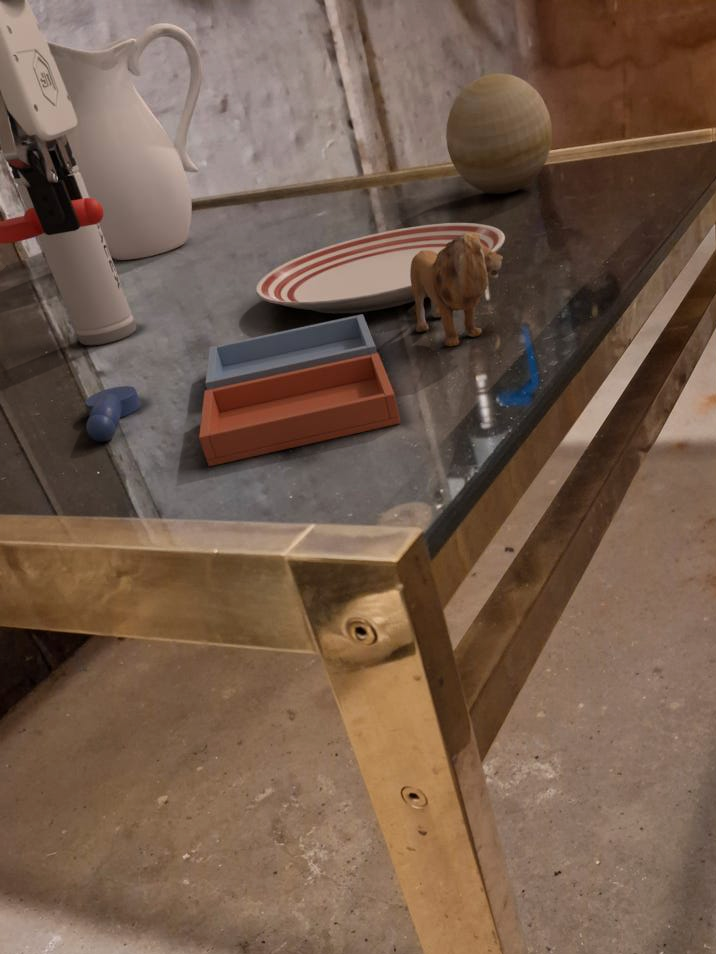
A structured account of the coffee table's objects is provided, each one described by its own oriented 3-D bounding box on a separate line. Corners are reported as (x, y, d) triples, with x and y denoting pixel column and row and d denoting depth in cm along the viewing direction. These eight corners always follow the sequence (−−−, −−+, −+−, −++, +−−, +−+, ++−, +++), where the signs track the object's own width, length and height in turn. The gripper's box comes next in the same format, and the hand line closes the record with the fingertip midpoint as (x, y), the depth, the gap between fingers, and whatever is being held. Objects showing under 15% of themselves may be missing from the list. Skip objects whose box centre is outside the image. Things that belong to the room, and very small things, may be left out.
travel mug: (66, 345, 101) (-17, 143, 90) (115, 325, 106) (40, 129, 94) (100, 349, 98) (17, 140, 87) (148, 328, 102) (76, 125, 91)
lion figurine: (520, 336, 80) (506, 227, 75) (470, 355, 78) (453, 244, 73) (431, 311, 91) (413, 214, 86) (385, 327, 89) (364, 228, 84)
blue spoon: (131, 439, 74) (121, 413, 73) (77, 451, 74) (66, 425, 73) (143, 397, 83) (134, 373, 81) (94, 407, 82) (84, 384, 81)
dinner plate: (257, 349, 89) (247, 314, 87) (266, 281, 112) (258, 253, 110) (531, 294, 91) (527, 258, 89) (486, 238, 113) (482, 209, 111)
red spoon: (113, 217, 86) (104, 191, 84) (99, 227, 82) (89, 201, 81) (7, 235, 86) (-4, 210, 85) (-12, 246, 83) (-23, 220, 81)
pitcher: (99, 273, 132) (13, 44, 116) (90, 254, 145) (12, 47, 129) (259, 234, 138) (199, 11, 122) (236, 219, 151) (180, 17, 135)
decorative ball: (564, 176, 139) (554, 60, 130) (547, 198, 127) (535, 72, 118) (468, 187, 143) (452, 75, 134) (444, 210, 131) (425, 89, 122)
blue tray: (213, 409, 77) (205, 382, 76) (217, 371, 86) (209, 346, 84) (381, 372, 78) (375, 345, 77) (368, 338, 87) (362, 313, 85)
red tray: (208, 466, 67) (198, 437, 66) (213, 417, 76) (204, 390, 74) (400, 423, 68) (394, 393, 67) (383, 379, 77) (378, 352, 75)
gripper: (-20, -26, 67) (81, 241, 77) (53, -24, 80) (131, 205, 90) (-119, -7, 67) (-5, 256, 78) (-30, -8, 80) (58, 218, 91)
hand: (68, 226), depth 84 cm, fingers closed on red spoon, 2 cm apart
